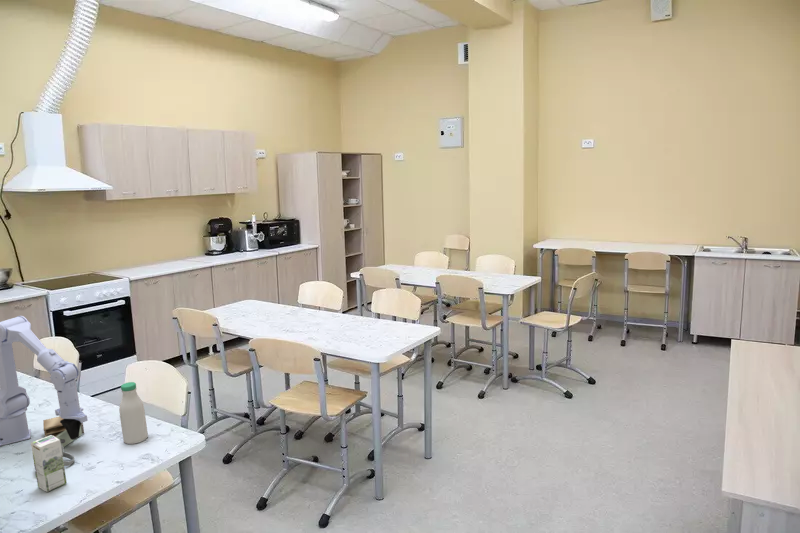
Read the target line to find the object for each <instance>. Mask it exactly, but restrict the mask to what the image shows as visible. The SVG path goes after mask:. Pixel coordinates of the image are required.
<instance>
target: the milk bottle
mask: <svg viewBox="0 0 800 533" xmlns="http://www.w3.org/2000/svg"><path fill="white" fill-rule="evenodd" d="M120 390H121V393H122V398H121V400H120V404H119V420H120V427H121V434H122V440H123V443H125V444H127V445H134V444H140V443H141V442H143V441H145V440H147V438H148V427H147V426H148V425H147V419H146V412H145V406H144V403H143V400H142V399H141V397H140V395H139V394H138V393H137V384H136V382H134V381H129V382H125V383H122V384H121V385H120Z"/></svg>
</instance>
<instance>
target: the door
mask: <svg viewBox="0 0 800 533" xmlns="http://www.w3.org/2000/svg"><path fill="white" fill-rule="evenodd" d="M82 435H83V434H82V430H81V426H80V431H79V437H81V436H82ZM56 437H57V438H58V439H59V440H60V442H61V445H62V446H63V448H65V447H66V446H67V445H69V444H70V443H72V442H73V441H75V440H76V439H74V440H72V439H70V437H69V435H68V433H67V431H66V430H65V431H63V432H62V433H60V434H59V435H57V436H56Z"/></svg>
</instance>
